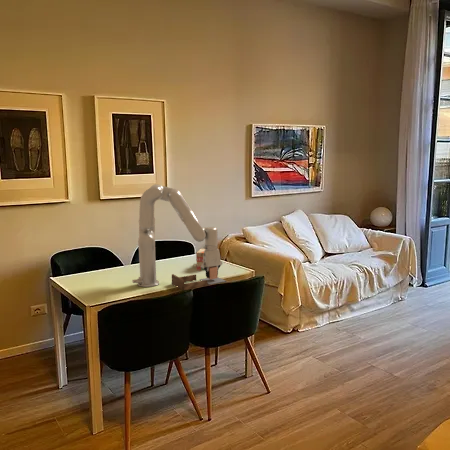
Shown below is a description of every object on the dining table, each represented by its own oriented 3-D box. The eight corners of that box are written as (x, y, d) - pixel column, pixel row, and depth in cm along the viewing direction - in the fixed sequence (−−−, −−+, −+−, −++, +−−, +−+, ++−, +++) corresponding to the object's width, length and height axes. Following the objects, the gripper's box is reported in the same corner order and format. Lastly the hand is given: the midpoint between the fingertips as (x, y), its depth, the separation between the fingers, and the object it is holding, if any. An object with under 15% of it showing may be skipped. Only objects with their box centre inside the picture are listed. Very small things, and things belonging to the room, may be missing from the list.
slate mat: (209, 284, 275) (209, 284, 275) (199, 280, 285) (199, 279, 285) (226, 281, 281) (226, 280, 281) (216, 277, 291) (216, 276, 291)
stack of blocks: (203, 262, 329) (203, 245, 327) (212, 262, 328) (212, 245, 326) (196, 270, 308) (196, 252, 306) (205, 270, 307) (205, 252, 305)
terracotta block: (210, 279, 279) (210, 268, 278) (206, 277, 283) (206, 266, 282) (217, 278, 281) (217, 267, 280) (213, 276, 286) (213, 265, 285)
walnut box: (182, 290, 264) (182, 280, 263) (171, 284, 277) (171, 274, 276) (207, 285, 273) (207, 276, 272) (195, 279, 285) (195, 270, 284)
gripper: (201, 250, 272) (202, 280, 275) (226, 246, 280) (227, 275, 283) (196, 248, 278) (196, 277, 281) (220, 244, 287) (220, 273, 290)
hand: (211, 276), depth 282 cm, fingers closed on terracotta block, 5 cm apart
